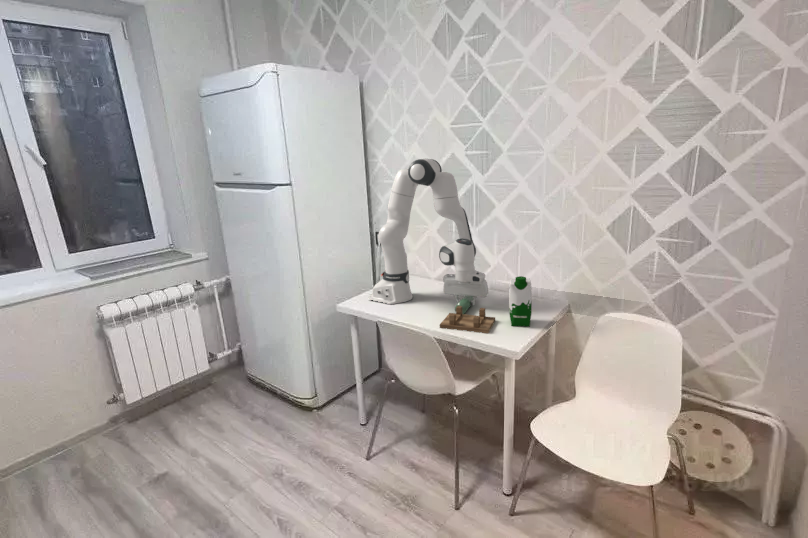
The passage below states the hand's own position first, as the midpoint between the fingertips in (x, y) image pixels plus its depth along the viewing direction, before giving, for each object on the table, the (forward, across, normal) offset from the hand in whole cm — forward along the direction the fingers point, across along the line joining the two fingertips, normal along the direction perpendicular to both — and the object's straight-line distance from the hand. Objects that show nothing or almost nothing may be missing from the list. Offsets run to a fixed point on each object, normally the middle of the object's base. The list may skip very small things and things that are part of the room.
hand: (465, 304), depth 190 cm
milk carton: (+2, +26, -11) cm, 28 cm away
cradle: (+2, +6, -18) cm, 19 cm away
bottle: (+1, +2, +1) cm, 2 cm away
